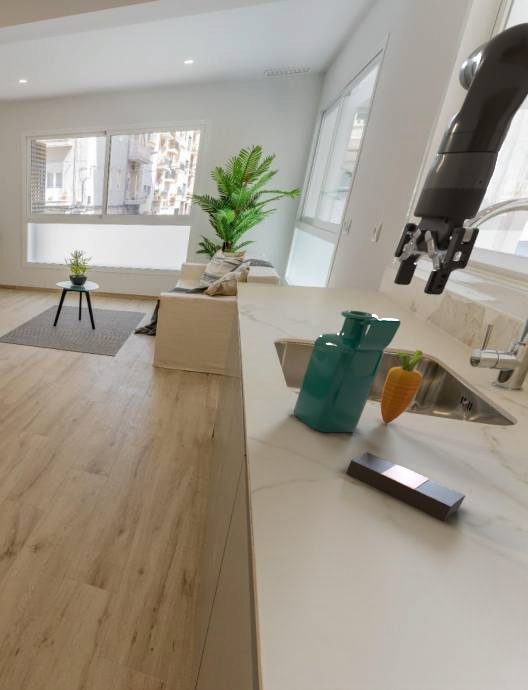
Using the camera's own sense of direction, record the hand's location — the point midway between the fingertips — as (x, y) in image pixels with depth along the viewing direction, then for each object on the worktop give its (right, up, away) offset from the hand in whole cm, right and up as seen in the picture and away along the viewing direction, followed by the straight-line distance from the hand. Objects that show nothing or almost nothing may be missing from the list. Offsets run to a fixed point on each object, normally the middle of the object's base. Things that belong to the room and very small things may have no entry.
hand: (415, 289), depth 73 cm
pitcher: (-9, -25, +9) cm, 28 cm away
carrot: (+3, -24, +10) cm, 27 cm away
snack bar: (-11, -32, -9) cm, 35 cm away
